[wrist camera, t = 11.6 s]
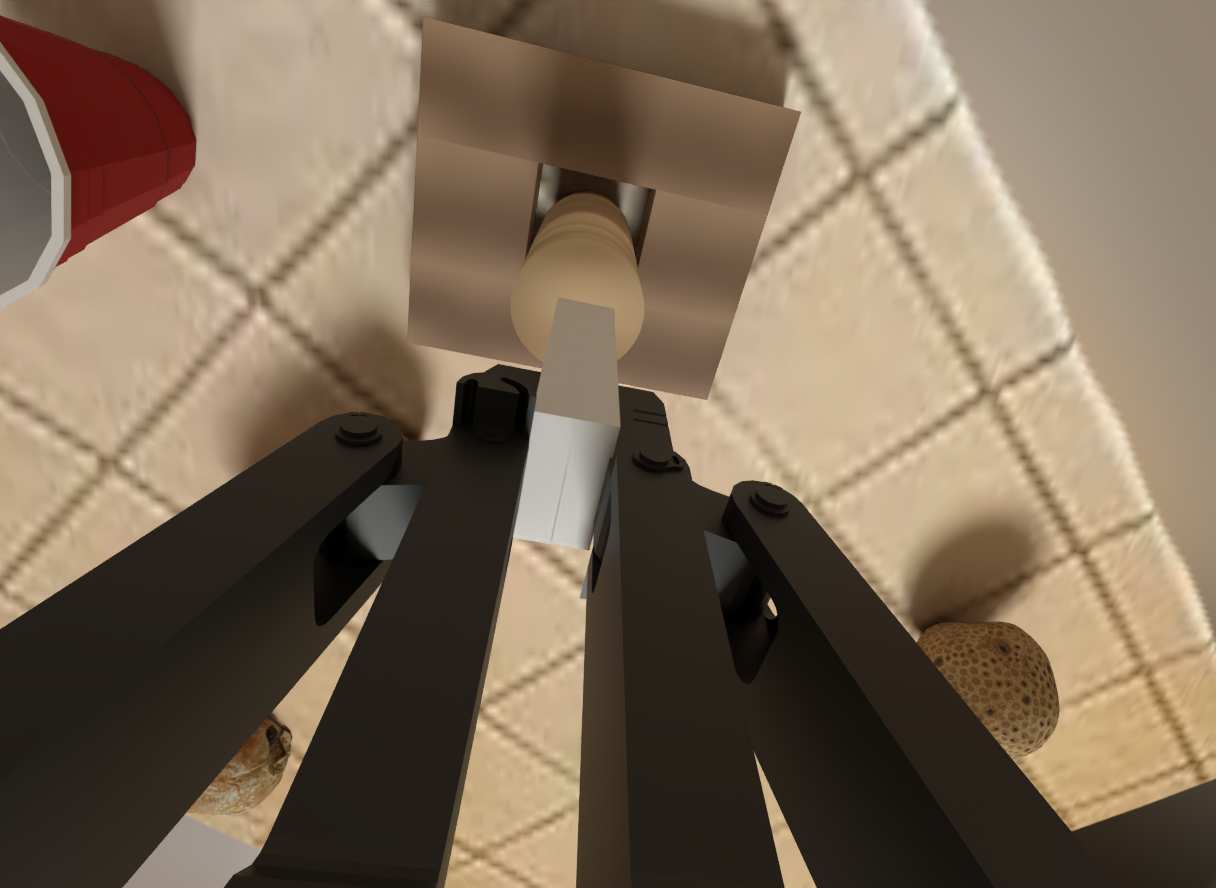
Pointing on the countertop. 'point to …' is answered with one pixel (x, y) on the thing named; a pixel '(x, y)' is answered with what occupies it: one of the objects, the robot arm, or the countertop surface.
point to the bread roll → (248, 773)
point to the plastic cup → (77, 150)
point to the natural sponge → (998, 680)
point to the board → (597, 145)
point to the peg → (579, 270)
